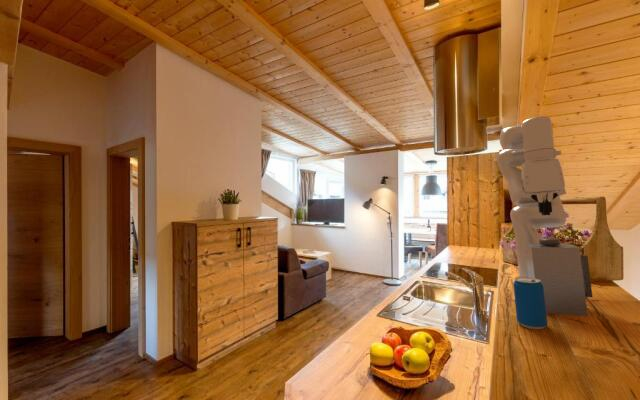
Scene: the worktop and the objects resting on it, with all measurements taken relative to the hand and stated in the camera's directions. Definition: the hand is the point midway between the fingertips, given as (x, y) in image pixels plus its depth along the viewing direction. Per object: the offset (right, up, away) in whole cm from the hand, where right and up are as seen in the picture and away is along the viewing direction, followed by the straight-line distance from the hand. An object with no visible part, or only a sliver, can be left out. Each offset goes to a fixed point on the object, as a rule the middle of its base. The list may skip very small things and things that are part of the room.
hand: (545, 214), depth 87 cm
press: (+3, -28, -3) cm, 28 cm away
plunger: (+2, -27, -2) cm, 27 cm away
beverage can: (-14, -29, -13) cm, 35 cm away
